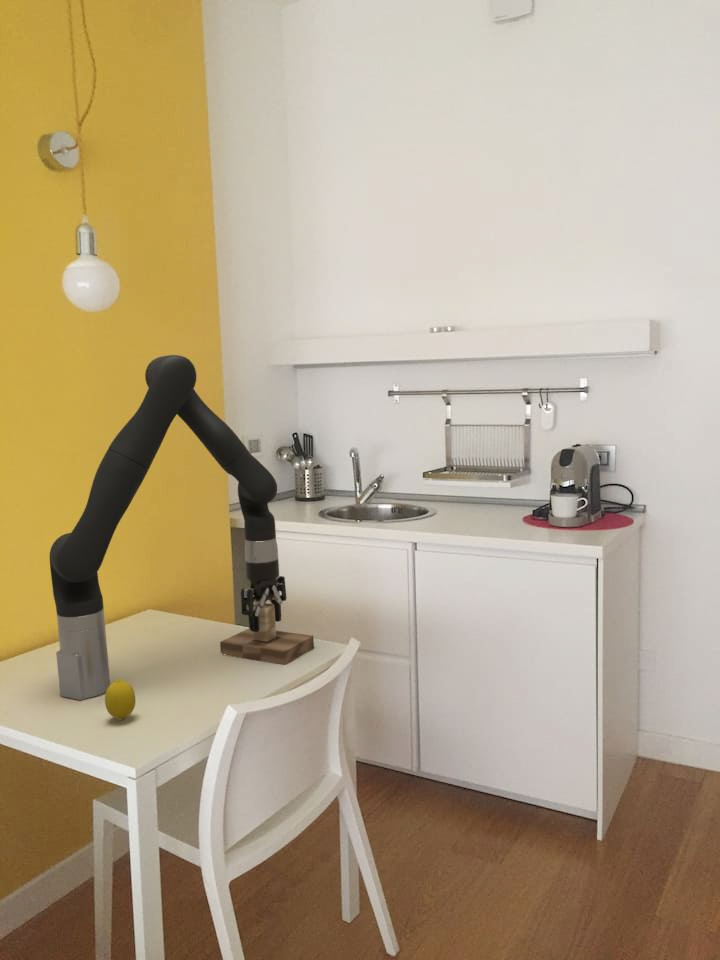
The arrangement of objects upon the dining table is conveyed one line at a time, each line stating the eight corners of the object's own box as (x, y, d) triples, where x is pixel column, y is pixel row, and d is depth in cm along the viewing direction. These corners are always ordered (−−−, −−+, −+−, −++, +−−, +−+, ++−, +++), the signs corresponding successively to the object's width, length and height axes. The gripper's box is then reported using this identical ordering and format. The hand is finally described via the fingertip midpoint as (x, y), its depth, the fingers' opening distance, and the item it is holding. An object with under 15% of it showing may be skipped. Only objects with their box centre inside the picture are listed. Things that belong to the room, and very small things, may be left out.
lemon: (138, 722, 155) (134, 682, 154) (107, 728, 154) (103, 687, 153) (135, 712, 161) (132, 672, 160) (106, 717, 159) (102, 677, 158)
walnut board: (284, 664, 183) (284, 651, 183) (220, 654, 192) (220, 642, 191) (314, 648, 193) (313, 635, 193) (252, 639, 202) (251, 627, 202)
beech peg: (267, 654, 190) (265, 608, 189) (254, 652, 192) (252, 606, 190) (277, 649, 193) (274, 604, 192) (264, 647, 195) (261, 602, 194)
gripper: (256, 565, 182) (260, 637, 184) (292, 552, 194) (296, 619, 196) (229, 563, 185) (234, 633, 188) (266, 550, 198) (270, 615, 200)
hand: (266, 626), depth 192 cm, fingers open, 8 cm apart
